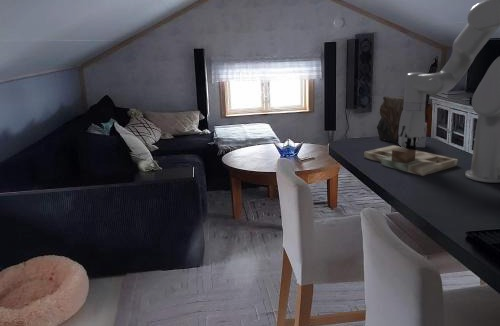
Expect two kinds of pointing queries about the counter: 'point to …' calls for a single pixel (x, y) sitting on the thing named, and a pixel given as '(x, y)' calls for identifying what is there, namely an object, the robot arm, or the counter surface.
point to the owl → (390, 118)
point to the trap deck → (420, 166)
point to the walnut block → (403, 155)
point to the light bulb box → (420, 141)
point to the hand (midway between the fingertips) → (410, 154)
